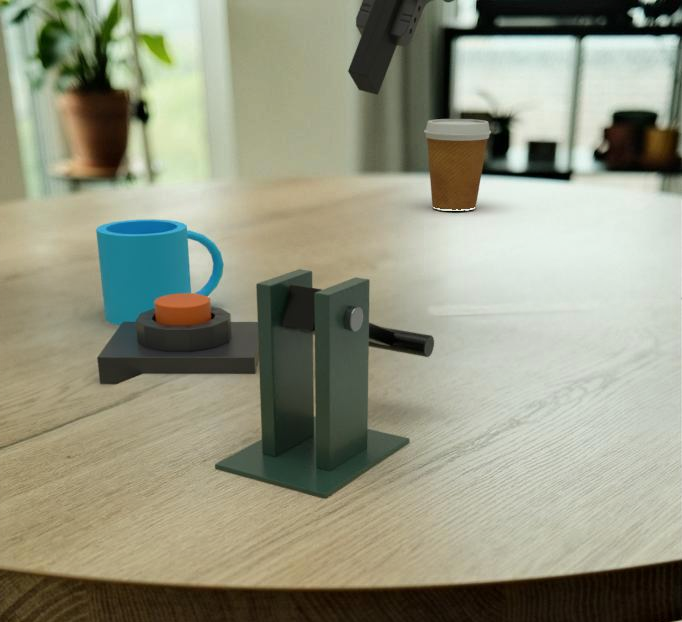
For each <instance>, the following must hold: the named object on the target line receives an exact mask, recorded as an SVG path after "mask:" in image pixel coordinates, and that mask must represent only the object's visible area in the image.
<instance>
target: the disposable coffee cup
mask: <svg viewBox="0 0 682 622" xmlns="http://www.w3.org/2000/svg"><path fill="white" fill-rule="evenodd" d="M423 133H424V134H425V138H426V142H427V155H428V167H429V169H428V170H429V180H430V192H431V194H430V195H431V206H433V207H435V208H440V209H452V210H456V209H458V210H461V209H470V208H474V207H477V201H478V197H479V190H480V184H481V179H482V174H483V168H484V162H485V156H486V149H487V145H488V139H489V138H490V135H491V134H492V130H490V123H489V121H487V120H484V119H483V120H482V119H473V118H440V119H430V120H428V121H427V123H426V127H425V129H424V130H423Z"/></svg>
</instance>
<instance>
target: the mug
mask: <svg viewBox="0 0 682 622" xmlns="http://www.w3.org/2000/svg"><path fill="white" fill-rule="evenodd" d="M95 233H96V242H97V253H98V262H99V271H100V281H101V291H102V298H103V310H104V318H105V320H106V321H107V322H109V323H111V324H113V325H117V326H120V325H121V324H122V322H136V319H137V317H138V316H139V314H140V313H143V312H145V311H148V310H151V309H154V308H155V304H154V301H155V300H156V299H157V298H159V297H162V296H165V295H170V294H180V293H191V294H192V286H191V270H190V269H191V267H190V253H189V240H191V241H195V242H197V243H199V244H201V245H202V246H203V247H205V248H206V250H207V251H208V253H209V254H210V256H211V260H212V271H211V274H210V277H209V279H208V281H207V282H206V283H205V284H204V285H203V286H202V288H201V289H199V290H198V291H196V292H195V293H194V294H200V295H204V296H207V297H209V296H210V295H211V294H212V293H213V291H214V290H215V289H217V287H218V285H219V284H220V282H221V279H222V277H223V273H224V272H223V271H224V260H223V256H222V252H221V251H220V249H219V248H218V246H217V245H216V243H215V242H214V241H212V240H211V239H210V238H208V237H207V236H206V235H204V234H202V233H200V232H197V231H193V230H188V225H187V224H185V223H184V222H181V221H177V220H171V219H170V220H169V219H152V218H151V219H150V218H149V219H128V220H127V219H126V220H119V221H112V222H108V223H103V224H101V225H98V226H96V229H95Z"/></svg>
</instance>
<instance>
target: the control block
mask: <svg viewBox="0 0 682 622" xmlns="http://www.w3.org/2000/svg"><path fill="white" fill-rule="evenodd" d="M231 319H232V317H231V313H230V312H228V311H227V310H226V309H223V308H222V307H217V306H211V320H210V321H207V322H205V323H200V324H193V325H167V324H161V323H156V317H155V308H154V309H151V310H148V311H145V312H143V313H140V314H139V316H138V317H137V319H136V322H122V324H121V325H118V327H117V329H116V330H115V332H114V333H113V335H111V337H110V339H109V340H108V342H107V344H105V346H104V347H103V349H102V350H101V351H100V353H99V354H98V355H97V358H96V359H97V369H98V377H99V384H100V385H118V384H121V383H124V382H126V381H128V380H131V379H133V378H136V377H139V376H141V375H158V374H159V375H255V374H256V372H257V368H258V366H259V365H258V364H259V344H258V321H232V320H231Z"/></svg>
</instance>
